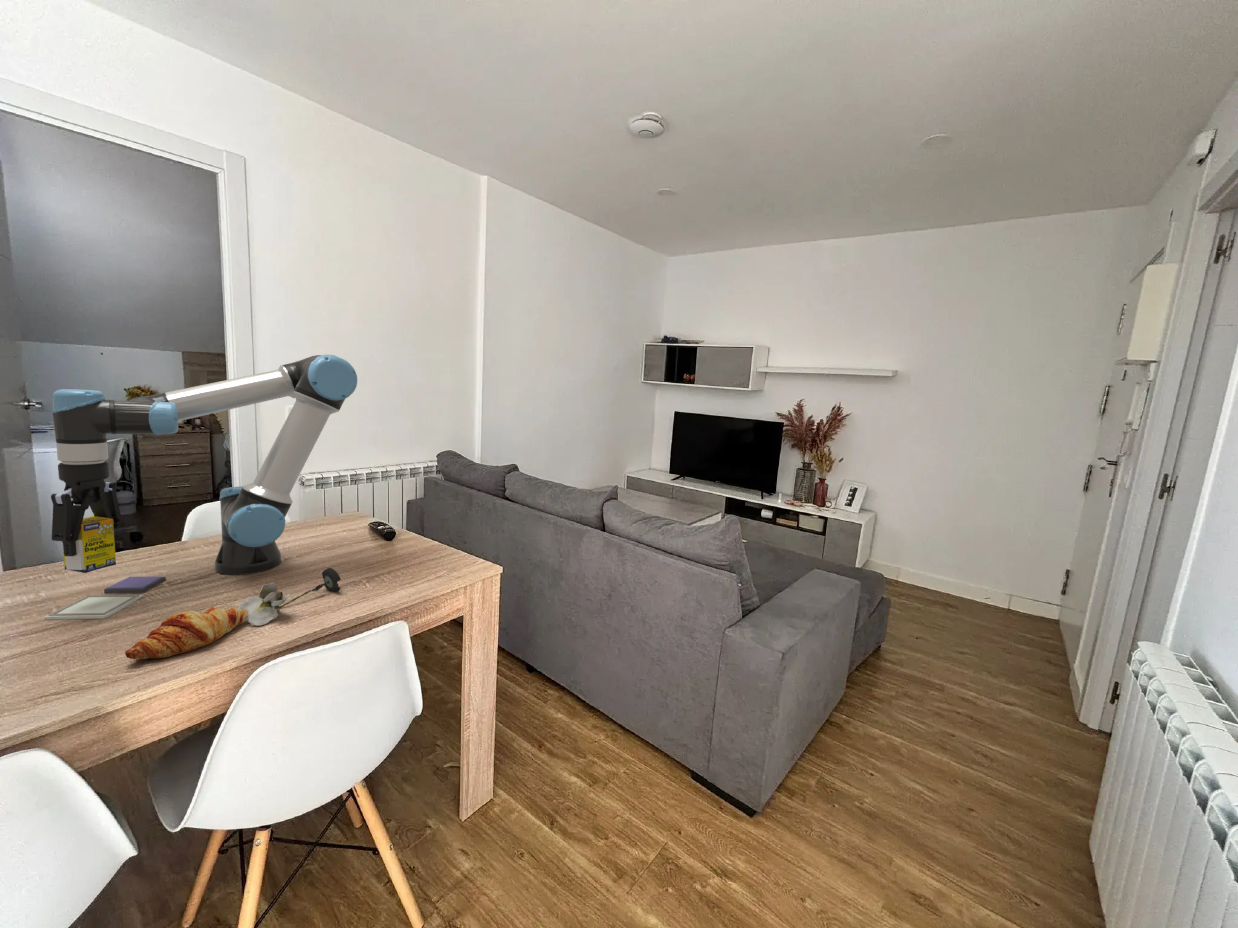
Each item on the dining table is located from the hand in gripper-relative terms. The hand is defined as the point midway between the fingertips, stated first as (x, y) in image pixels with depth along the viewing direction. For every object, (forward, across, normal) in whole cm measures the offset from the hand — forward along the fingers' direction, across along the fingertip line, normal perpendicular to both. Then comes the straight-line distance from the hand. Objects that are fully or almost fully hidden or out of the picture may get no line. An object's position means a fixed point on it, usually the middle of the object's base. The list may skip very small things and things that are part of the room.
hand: (91, 562), depth 111 cm
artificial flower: (+11, +1, +41) cm, 43 cm away
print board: (+11, 0, 0) cm, 11 cm away
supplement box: (+1, 0, 0) cm, 1 cm away
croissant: (+11, +17, +29) cm, 35 cm away
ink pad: (+11, -12, 0) cm, 16 cm away
